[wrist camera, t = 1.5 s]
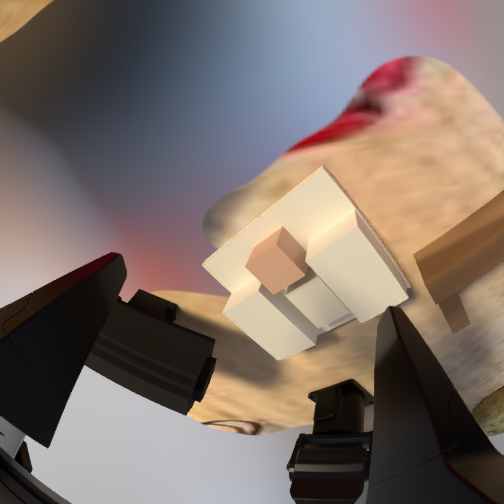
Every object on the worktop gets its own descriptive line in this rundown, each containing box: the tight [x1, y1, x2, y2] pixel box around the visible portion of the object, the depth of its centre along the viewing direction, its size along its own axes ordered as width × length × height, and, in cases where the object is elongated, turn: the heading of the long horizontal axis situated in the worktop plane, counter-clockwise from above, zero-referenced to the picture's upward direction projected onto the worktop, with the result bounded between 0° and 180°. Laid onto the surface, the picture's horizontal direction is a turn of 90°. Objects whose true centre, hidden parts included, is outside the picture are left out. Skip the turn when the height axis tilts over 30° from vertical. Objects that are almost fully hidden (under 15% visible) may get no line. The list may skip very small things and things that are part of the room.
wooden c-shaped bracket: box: [413, 190, 504, 333], centre depth 17 cm, size 8×10×4 cm
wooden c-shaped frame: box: [202, 166, 411, 361], centre depth 22 cm, size 12×13×4 cm
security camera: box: [84, 289, 217, 415], centre depth 26 cm, size 7×18×10 cm, turn 77°
